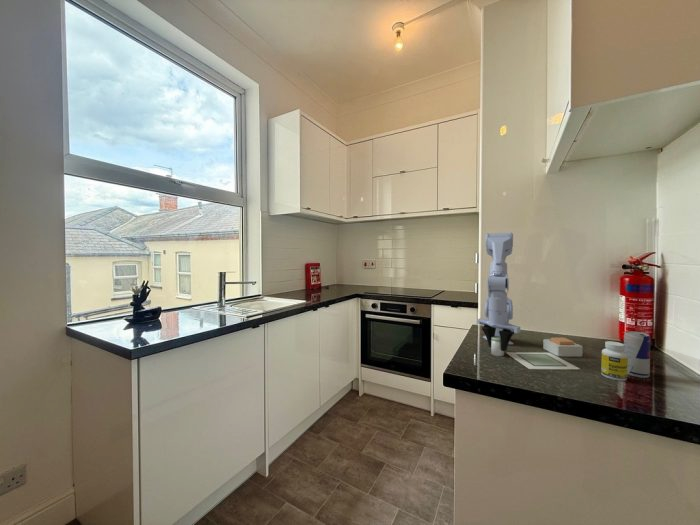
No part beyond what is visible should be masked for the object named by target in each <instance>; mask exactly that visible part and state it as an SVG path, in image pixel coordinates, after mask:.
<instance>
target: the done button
mask: <svg viewBox="0 0 700 525" xmlns="http://www.w3.org/2000/svg"><path fill="white" fill-rule="evenodd" d="M550 339H551V341H552V342H554V343H556V344H558V345H574V343H575V341H573V340H572V339H568V338H566V337H550Z"/></svg>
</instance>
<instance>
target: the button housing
mask: <svg viewBox="0 0 700 525" xmlns="http://www.w3.org/2000/svg"><path fill="white" fill-rule="evenodd" d="M542 344H543V347H542V349H543V350H544V351H547V352H548V353H551V354H553V355H555V356H557V357H581V358H582V357H583V347H584V346H583V345H581V344H577V343H576V342H574V345H558V344H556V343H554V342H552V341H551V338H545V339H543V341H542Z"/></svg>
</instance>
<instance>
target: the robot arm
mask: <svg viewBox="0 0 700 525" xmlns="http://www.w3.org/2000/svg"><path fill="white" fill-rule="evenodd" d="M513 247H514V234H513V232H511V231H510V232H498V233H496V232H495V233H486V234H485V249H486V255H488V256H491V258H492V261H491V262H490V263H489V272H488V273H489V274H488V278H487V284H486V286H487V287H486V288H487V294H488V295H487V298H486V299H485V303H484V316H485V318H482V317H481V318H477V325H480V326H481V325H483V326H482V327H481V330H482V332H483V333H484V335H483V336H482V338H483V339H484V340H486V341H487V344H488V348H491V336H500V338H501V351H504V352H505V351H507V350H508V345H514V342H512V341H510V340H511V338H512V337H513V335H514V334H520V333H521V326H518V325H515V324H512V323H510V321H511V320H513V319H514V318H513V316H514V312H513V310H514V307H513V300H512V299H511V298H509V297H508V293H509V288H510V286H509V285H510V282H509V281H510V280H509V274H508V263H507V262H506V259H507V257H508V256H510V255H512V253H513ZM506 290H507V292H506ZM486 318H487V319H486Z"/></svg>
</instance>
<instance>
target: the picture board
mask: <svg viewBox="0 0 700 525" xmlns="http://www.w3.org/2000/svg"><path fill="white" fill-rule="evenodd" d="M505 353H506V354H507V356H510V357H511V358H512V359H514V360H515V361H516V362H518V363H520V364H521V365H523V366H524V367H526V368H527V369H529V370H538V371H539V370H543V371H544V370H546V371H547V370H548V371H549V370H553V371H554V370H555V371H557V370H559V371H560V370H566V371H567V370H569V371H570V370H571V371H572V370H575V371H577V370H578V371H579V370H581V368H580V367H577V366H576V365H574V364H572V363H570V362H568V361H566V360H564V359H562V358H560V356H557V355H555V354H553V353H551V352H505Z"/></svg>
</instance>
